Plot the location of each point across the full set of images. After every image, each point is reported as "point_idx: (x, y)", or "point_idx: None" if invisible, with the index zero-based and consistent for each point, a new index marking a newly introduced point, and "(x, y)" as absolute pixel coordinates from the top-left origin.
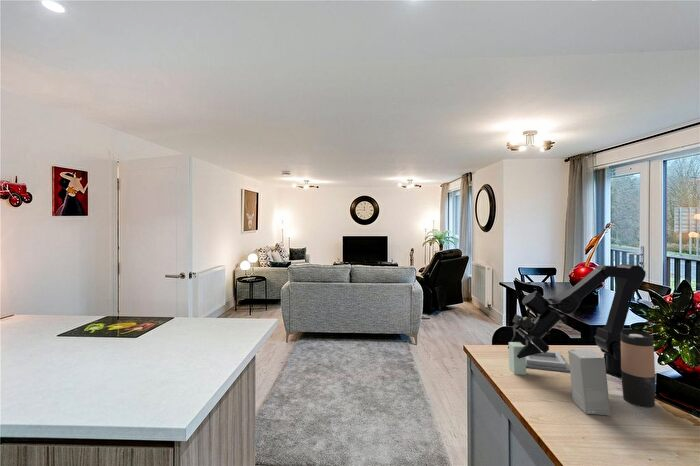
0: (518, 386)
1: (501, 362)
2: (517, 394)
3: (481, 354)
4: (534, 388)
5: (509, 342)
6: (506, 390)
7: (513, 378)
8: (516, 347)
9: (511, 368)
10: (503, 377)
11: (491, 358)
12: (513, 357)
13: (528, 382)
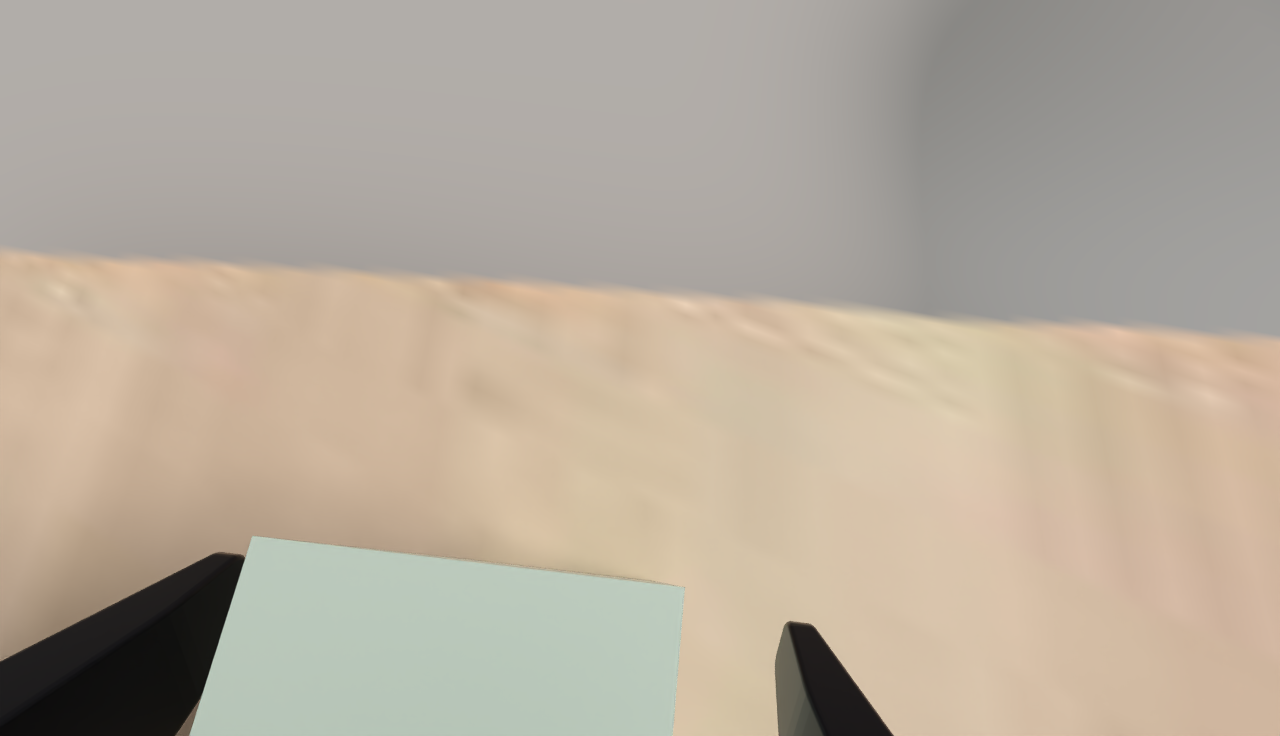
0: (160, 442)
1: (881, 574)
2: (10, 345)
3: (1165, 420)
4: (53, 604)
5: (640, 595)
6: (122, 282)
7: (362, 487)
8: (239, 625)
9: (570, 571)
10: (411, 385)
11: (1025, 496)
12: (412, 553)
13: None
